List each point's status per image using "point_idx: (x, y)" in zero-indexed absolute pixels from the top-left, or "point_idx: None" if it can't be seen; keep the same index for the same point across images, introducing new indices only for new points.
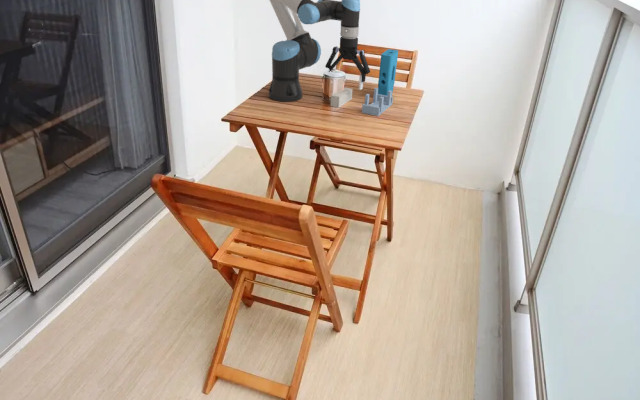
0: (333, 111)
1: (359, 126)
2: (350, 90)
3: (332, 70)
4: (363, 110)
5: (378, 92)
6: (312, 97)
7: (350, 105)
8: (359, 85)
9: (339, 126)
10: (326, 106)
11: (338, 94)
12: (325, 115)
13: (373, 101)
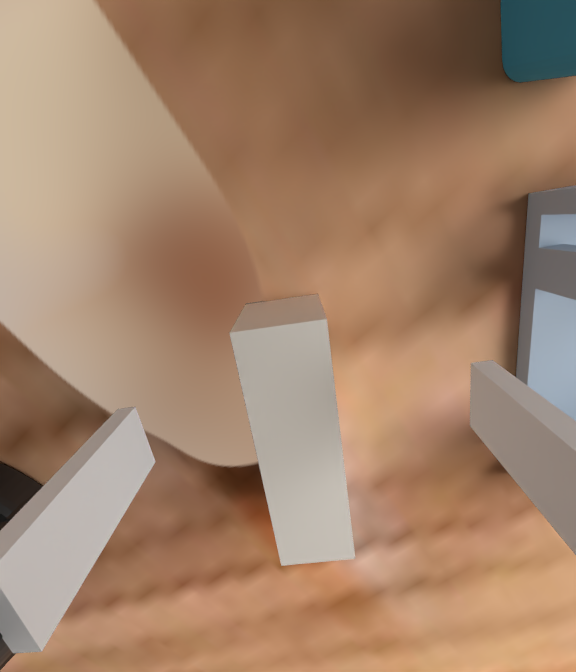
0: None
1: (568, 614)
2: (331, 364)
3: (38, 651)
4: None
5: (569, 75)
6: None
7: (384, 414)
8: (504, 459)
9: (479, 655)
10: None
11: (317, 525)
12: (351, 605)
13: (546, 289)
